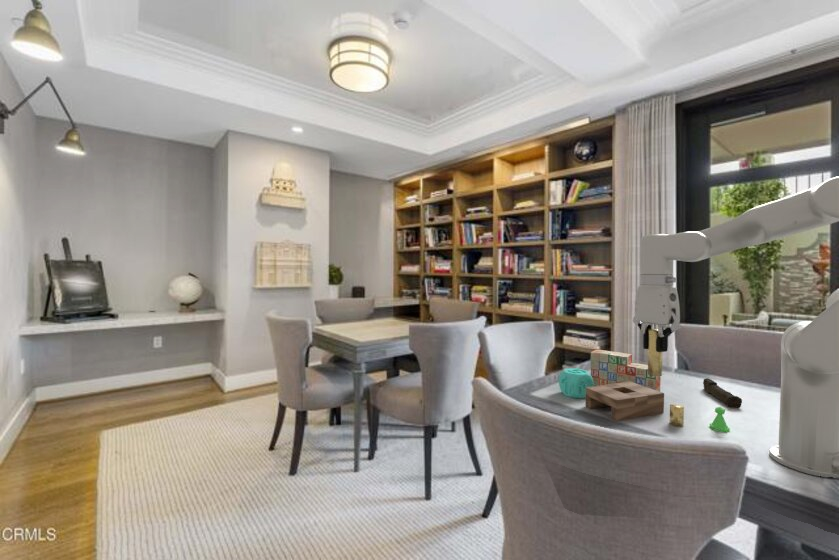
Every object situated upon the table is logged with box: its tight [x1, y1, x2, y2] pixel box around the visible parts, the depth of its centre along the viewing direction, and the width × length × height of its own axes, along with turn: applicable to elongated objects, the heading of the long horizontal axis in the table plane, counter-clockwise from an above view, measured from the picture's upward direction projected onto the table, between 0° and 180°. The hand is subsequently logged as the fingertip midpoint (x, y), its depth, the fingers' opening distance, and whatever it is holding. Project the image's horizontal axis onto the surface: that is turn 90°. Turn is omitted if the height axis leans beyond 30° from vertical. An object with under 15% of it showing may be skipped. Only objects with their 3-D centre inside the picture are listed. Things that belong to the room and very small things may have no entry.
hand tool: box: [702, 377, 743, 409], centre depth 127 cm, size 19×4×5 cm, turn 165°
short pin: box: [669, 403, 685, 427], centre depth 107 cm, size 3×3×5 cm
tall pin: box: [647, 328, 663, 377], centre depth 103 cm, size 3×3×12 cm
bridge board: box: [585, 382, 665, 422], centre depth 117 cm, size 12×18×6 cm, turn 109°
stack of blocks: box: [590, 349, 661, 392], centre depth 137 cm, size 21×6×12 cm, turn 45°
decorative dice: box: [558, 367, 595, 399], centre depth 131 cm, size 8×8×8 cm
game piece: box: [709, 406, 731, 433], centre depth 104 cm, size 4×4×6 cm
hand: (655, 349), depth 103 cm, fingers closed on tall pin, 3 cm apart
